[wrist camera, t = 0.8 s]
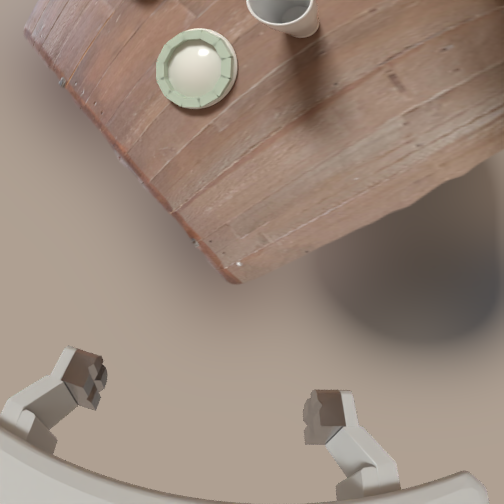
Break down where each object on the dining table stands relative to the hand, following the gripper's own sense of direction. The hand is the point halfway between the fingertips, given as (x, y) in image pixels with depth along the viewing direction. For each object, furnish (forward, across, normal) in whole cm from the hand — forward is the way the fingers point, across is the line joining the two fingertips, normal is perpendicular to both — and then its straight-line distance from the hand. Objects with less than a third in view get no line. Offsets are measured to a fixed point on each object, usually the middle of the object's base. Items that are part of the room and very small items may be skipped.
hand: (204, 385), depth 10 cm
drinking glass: (+38, -4, -21) cm, 44 cm away
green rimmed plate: (+43, +10, -12) cm, 46 cm away
